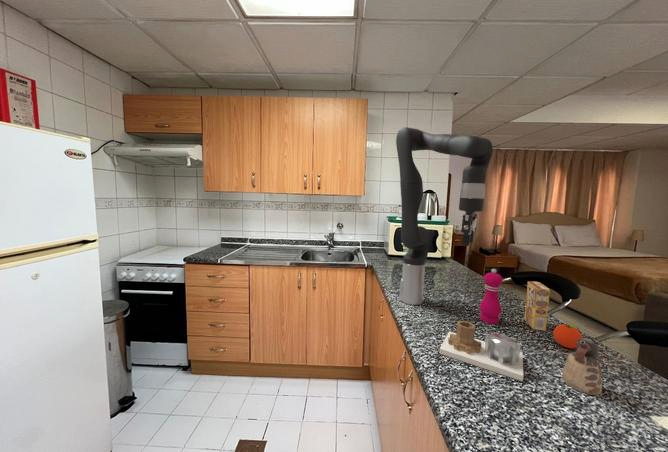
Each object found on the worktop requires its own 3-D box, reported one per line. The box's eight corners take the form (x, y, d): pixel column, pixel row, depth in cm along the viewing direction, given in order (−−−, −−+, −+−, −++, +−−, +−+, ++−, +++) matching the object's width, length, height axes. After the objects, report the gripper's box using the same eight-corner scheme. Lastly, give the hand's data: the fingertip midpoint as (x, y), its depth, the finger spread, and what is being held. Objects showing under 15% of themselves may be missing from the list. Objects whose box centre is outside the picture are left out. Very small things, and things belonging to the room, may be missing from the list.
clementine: (565, 339, 89) (568, 319, 88) (589, 351, 82) (592, 329, 81) (546, 341, 87) (549, 320, 86) (569, 353, 80) (572, 331, 80)
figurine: (608, 391, 64) (615, 344, 63) (589, 398, 62) (596, 349, 61) (573, 373, 71) (579, 330, 70) (555, 378, 69) (561, 334, 67)
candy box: (546, 331, 94) (551, 289, 93) (532, 329, 95) (537, 287, 94) (536, 321, 103) (540, 282, 101) (523, 319, 104) (527, 280, 102)
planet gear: (445, 346, 79) (447, 325, 79) (451, 334, 86) (453, 315, 86) (478, 357, 74) (480, 335, 74) (482, 344, 81) (484, 323, 81)
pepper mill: (503, 325, 98) (509, 272, 96) (482, 323, 99) (487, 270, 97) (495, 317, 105) (500, 267, 103) (475, 315, 106) (480, 265, 104)
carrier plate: (439, 353, 78) (441, 330, 78) (448, 335, 89) (450, 315, 88) (522, 381, 67) (525, 354, 66) (522, 357, 78) (524, 333, 77)
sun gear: (483, 358, 74) (484, 341, 73) (486, 345, 81) (487, 329, 80) (518, 369, 69) (520, 351, 69) (518, 355, 76) (520, 338, 76)
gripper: (463, 197, 100) (459, 240, 101) (456, 196, 88) (451, 245, 90) (486, 198, 95) (482, 242, 97) (481, 197, 84) (476, 248, 85)
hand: (467, 243), depth 93 cm, fingers open, 8 cm apart
